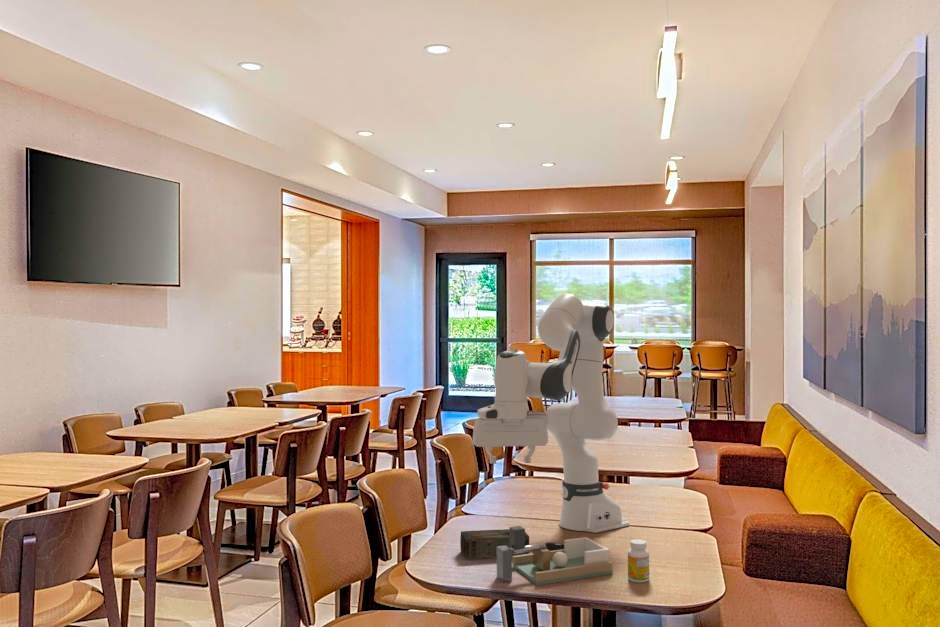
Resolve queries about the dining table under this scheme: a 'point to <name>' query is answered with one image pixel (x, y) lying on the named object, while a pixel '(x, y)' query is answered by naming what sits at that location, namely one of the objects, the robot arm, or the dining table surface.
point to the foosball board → (568, 563)
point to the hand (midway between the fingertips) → (510, 462)
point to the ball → (560, 559)
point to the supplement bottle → (638, 561)
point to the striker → (529, 548)
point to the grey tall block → (504, 563)
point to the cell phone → (554, 546)
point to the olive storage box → (485, 543)
